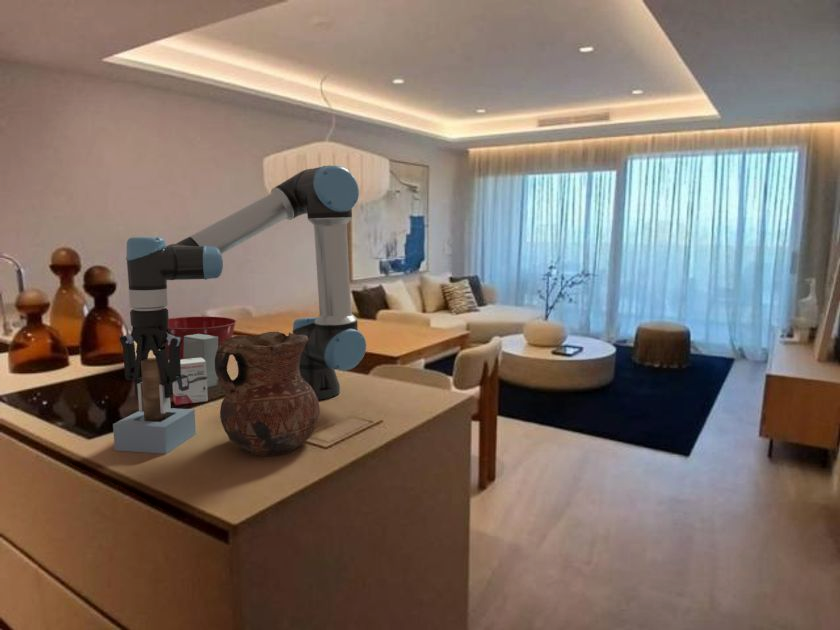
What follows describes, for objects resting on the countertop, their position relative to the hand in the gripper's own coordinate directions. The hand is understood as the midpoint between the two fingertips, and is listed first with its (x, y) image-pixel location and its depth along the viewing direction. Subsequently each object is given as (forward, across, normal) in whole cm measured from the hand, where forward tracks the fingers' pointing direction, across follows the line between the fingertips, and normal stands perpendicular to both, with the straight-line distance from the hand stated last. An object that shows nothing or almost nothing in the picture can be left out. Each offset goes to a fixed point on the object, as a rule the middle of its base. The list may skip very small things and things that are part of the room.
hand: (155, 410), depth 123 cm
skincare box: (+8, +14, -45) cm, 48 cm away
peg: (+4, 0, 0) cm, 4 cm away
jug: (+8, -26, -2) cm, 27 cm away
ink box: (+8, +9, -30) cm, 32 cm away
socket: (+7, 0, 0) cm, 7 cm away
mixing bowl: (+8, +31, -73) cm, 79 cm away
